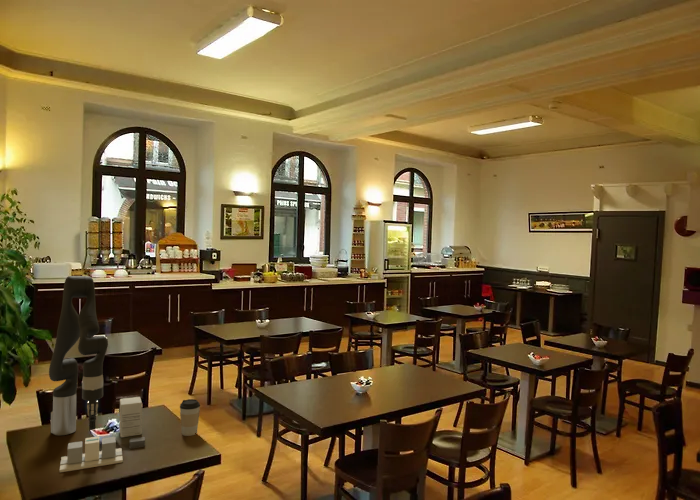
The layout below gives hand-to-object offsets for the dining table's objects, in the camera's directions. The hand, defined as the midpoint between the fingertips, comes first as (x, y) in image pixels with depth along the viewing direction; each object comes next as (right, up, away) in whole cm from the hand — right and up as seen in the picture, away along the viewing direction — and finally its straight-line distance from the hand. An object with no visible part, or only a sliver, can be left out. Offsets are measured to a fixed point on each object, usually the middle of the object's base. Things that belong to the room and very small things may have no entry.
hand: (92, 428), depth 203 cm
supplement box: (+2, -12, +29) cm, 32 cm away
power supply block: (+11, -13, +16) cm, 23 cm away
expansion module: (0, -12, 0) cm, 12 cm away
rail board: (0, -13, 0) cm, 13 cm away
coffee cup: (+29, -13, +31) cm, 44 cm away
